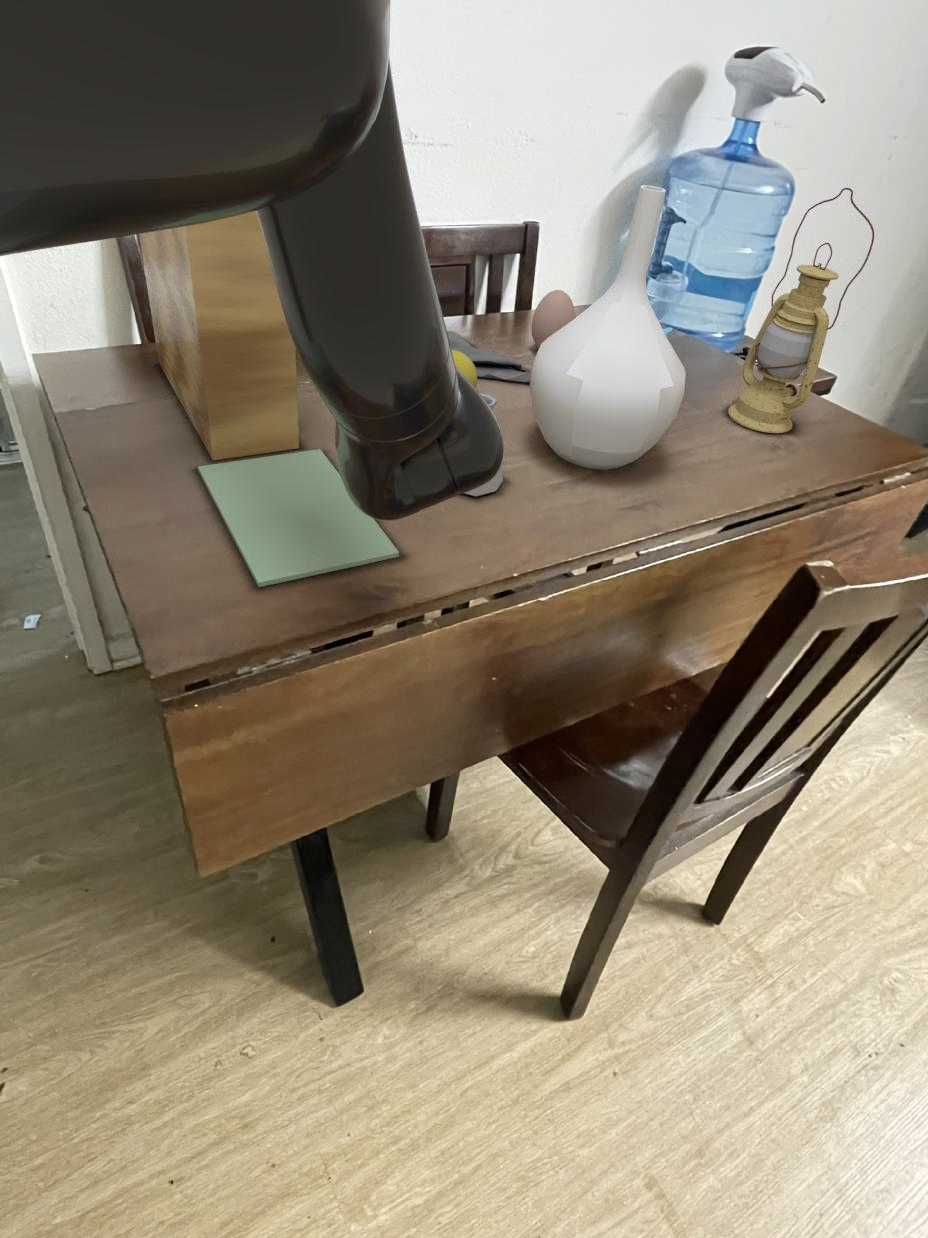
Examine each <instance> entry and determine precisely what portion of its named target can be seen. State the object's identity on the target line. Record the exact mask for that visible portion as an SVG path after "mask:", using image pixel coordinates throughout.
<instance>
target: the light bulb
mask: <svg viewBox="0 0 928 1238" xmlns="http://www.w3.org/2000/svg"><path fill="white" fill-rule="evenodd" d="M452 355H453V359H454V364H455V366H456V368H457V369H458V370H459V371H460V372H461V373H462V374H463V375H464V376H465V377H466V378H467V379H468V381H469V382H470V383H471V384H472V385H473V386H474V387H475V388H476V389H477V386H478V377H477V372H476V368H475V366H474V364H473V362H472V361H471V360H470V359H469V358H468V357H467V356H466V355H465V354H463V353H461V352H459V351H455V350H452Z"/></svg>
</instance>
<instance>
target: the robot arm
mask: <svg viewBox="0 0 928 1238" xmlns="http://www.w3.org/2000/svg"><path fill="white" fill-rule="evenodd" d="M390 42H391V0H0V257H5V256H9V255H16V254H20V253H28V252H35V251H40V250H47V249H52V248H58V247H59V248H60V247H65V246H71V245H77V244H85V243H89V242H96V241H102V240H103V241H104V240H109V239H116V238H122V237H123V238H124V237H129V236H130V237H131V236H136V235H139V234H143V233H149V232H155V231H161V230H167V229H173V228H179V227H185V226H191V225H197V224H202V223H207V222H211V221H216V220H220V219H224V218H229V217H233V216H238V215H242V214H246V213H250V212H253V211H256V214H257V217H258V220H259V224H260V227H261V231H262V235H263V239H264V242H265V246H266V250H267V254H268V258H269V262H270V265H271V269H272V273H273V277H274V281H275V285H276V288H277V292H278V296H279V299H280V303H281V306H282V310H283V313H284V316H285V319H286V322H287V325H288V328H289V331H290V334H291V337H292V339H293V342H294V345H295V348H296V354H297V356H298V357H299V359H300V363H301V364H302V366H303V368H304V370H305V372H306V374H307V375H308V378H309V379H310V381H311V382H312V384H313V386H314V388H315V389H316V391H317V394H318V395H319V396H320V398H321V400H322V401H323V402H324V404H325V406H326V407H327V409H328V411H329V412H330V414H331V415H332V417H333V419H334V421H335V426H334V427H335V428H334V429H335V433H334V434H335V435H334V437H335V439H334V441H335V443H334V444H335V445H334V446H335V455H336V462H337V467H338V473H339V474H340V476H341V479H342V482H343V484H344V487H345V489H346V491H347V493H348V495H349V497H350V498H351V500H352V501H353V503H354V504H355V505H356V506H357V507H358V508H359V510H361V511H362V512H363V513H364V514H366V515H368V516H370V517H372V518H373V519H374V520H379V521H385V522H387V521H388V522H389V521H390V522H392V521H397V520H402V519H405V518H407V517H410V516H413V515H415V514H417V513H419V512H421V511H423V510H426V509H429V508H431V507H434V506H436V505H439V504H440V503H443V502H446V501H448V500H451V499H454V498H456V497H458V495H463V494H465V493H466V492H468V491H471V490H473V489H475V488H478V487H480V486H482V485H484V484H486V483H487V482H489V481H490V480H491V479H492V478H493V477H494V476H495V475H496V474H497V472H498V470H499V469H500V468H501V466H502V463H503V457H504V449H505V444H504V436H503V433H502V428H501V426H500V423H499V421H498V418H497V417H496V415H495V412H494V410H492V409H491V408H490V406H489V405H488V404H487V402H486V401H485V400H484V398H483V397H482V396H481V394H480V393H481V392H479V391H478V390H477V387H476V388H475V387H474V386H473V385H472V384H471V383H470V382H469V381H468V379H467V378H466V377H465V376H464V375H463V374H462V373H461V372H460V371H459V370H458V369H457V368H456V366H455V364H454V359H453V355H452V350H451V346H450V342H449V338H448V334H447V332H448V329H447V325H446V322H445V317H444V313H443V310H442V306H441V302H440V299H439V295H438V291H437V286H436V283H435V279H434V275H433V270H432V267H431V262H430V259H429V255H428V251H427V248H426V243H425V239H424V235H423V231H422V226H421V223H420V218H419V213H418V210H417V206H416V201H415V197H414V193H413V189H412V184H411V179H410V174H409V170H408V164H407V159H406V154H405V149H404V148H405V147H404V143H403V142H404V141H403V137H402V131H401V125H400V120H399V113H398V107H397V106H398V105H397V101H396V94H395V87H394V80H393V73H392V67H391V58H390V45H391V43H390Z"/></svg>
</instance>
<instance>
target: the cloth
mask: <svg viewBox="0 0 928 1238" xmlns="http://www.w3.org/2000/svg"><path fill="white" fill-rule="evenodd" d="M447 334H448V338H449V342H450V346H451V350H455V351H459V352H461V353H463V354H465V355H466V356H467V357H468V358H469V359H470V360H471V361H472V362H473V364H474V366H475V368H476V372H477V378H485V379H493V380H501V381H502V380H503V381H508V382H518V383H525V384H530V380H531V374H530V373H529V372H523V371H527V369H526V368H523V365H522V363H520V362H519V361H517V360H515V359H513V358H510V357H507V356H505V355H502V354H499V353H497V352H495V351H493V350H486V349H485V350H484V349H479V348H475V347H473V346H472V345H471V344H469V342H467V340H465V339H463V338H462V337H461V336H460V335H458V334H456V333H455V332H453V331H447Z"/></svg>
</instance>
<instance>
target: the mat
mask: <svg viewBox="0 0 928 1238" xmlns="http://www.w3.org/2000/svg"><path fill="white" fill-rule="evenodd" d="M197 471H198V474H199V476H200V477H201V479H202V481H203V483H204V485H205V488H206V489H207V491H208V493H209V495H210V497H211V499H212V501H213V502H214V504H215V506H216V509H217V510H218V512H219V514H220V517H221V518H222V520H223V522H224V523H225V526H226V527H227V530H228V531H229V533H230V535H231V537H232V539H233V541H234V543H235V545H236V547H237V548H238V550H239V553H240V555H241V556H242V558H243V560H244V563H245V564H246V566H247V568H248V570H249V571H250V574H251V575H252V578H253V579H254V581H255V583H256V586H257V587H258V588H263V587H267V586H272V585H276V584H280V583H286V582H290V581H294V580H299V579H304V578H309V577H312V576H317V575H323V574H326V573H332V572H336V571H340V570H344V569H349V568H355V567H358V566H363V565H367V564H373V563H376V562H381V561H385V560H390V559H396V558H399V557H400V551H399V550H398V548H397V547H396V546H395V545H394V543H393V542H392V541H391V539H390V538H389V537H388V535H387V534H386V533H385V531H384V530H383V529H382V528H381V526H380V525H379V524H378V522H377V521H376V519H375V518H372V517H370V516H368V515H366V514H364V513H363V512H362V511H361V510H359V508H358V507H357V506H356V505H355V504H354V503H353V501H352V500H351V498H350V497H349V495H348V493H347V491H346V489H345V487H344V484H343V482H342V479H341V476H340V472H339V471H338V470H337V469H336V468H335V466H334V465H333V463H332V462H331V461H330V460H329V458H328V457H327V456H326V455H325V453H324V452H323V451H322V449H321V448H318V449H309V450H304V451H295V452H290V453H283V454H275V455H270V456H269V455H268V456H262V457H256V458H248V459H241V460H235V461H228V462H219V463H214V464H207V465H200V466H197Z"/></svg>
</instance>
